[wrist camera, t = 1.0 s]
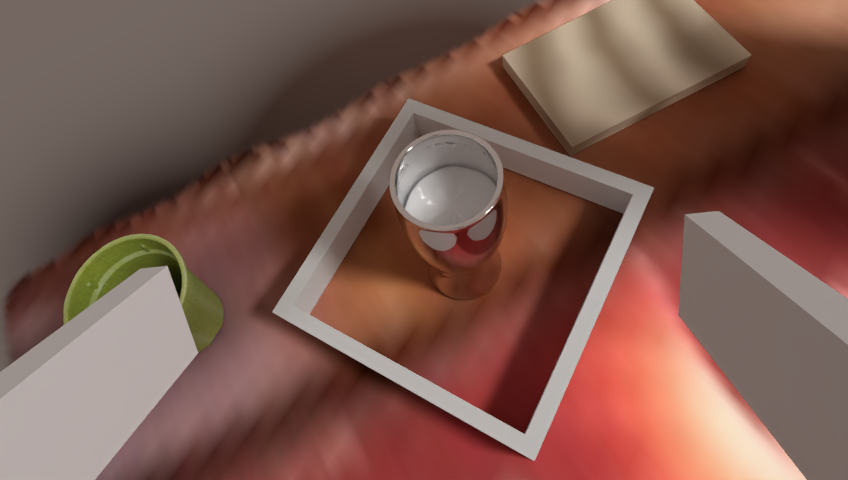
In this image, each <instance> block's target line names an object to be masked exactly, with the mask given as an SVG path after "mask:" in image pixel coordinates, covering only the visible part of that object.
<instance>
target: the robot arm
mask: <svg viewBox="0 0 848 480" xmlns="http://www.w3.org/2000/svg"><path fill="white" fill-rule="evenodd" d="M679 316H680V318H681V319H682V320H683V322H684V323H685V324H686V325H687V327H688V328H689V329H690V330H691V332H692V333H693V334H694V336H695V337H696V338H697V339H698V341H699V342H700V343H701V345H702V346H703V347H704V348H705V350H706V351H707V352H708V353H709V355H710V356H711V357H712V359H713V360H714V361H715V362H716V364H717V365H718V366H719V368H720V369H721V370H722V371H723V373H724V374H725V375H726V377H727V378H728V379H729V380H730V382H731V383H732V384H733V385H734V387H735V388H736V389H737V391H738V392H739V393H740V394H741V396H742V397H743V398H744V400H745V401H746V402H747V403H748V405H749V406H750V407H751V409H752V410H753V411H754V412H755V414H756V415H757V416H758V417H759V419H760V420H761V421H762V423H763V424H764V425H765V426H766V428H767V429H768V430H769V432H770V433H771V434H772V435H773V437H774V438H775V439H776V441H777V442H778V443H779V444H780V446H781V447H782V448H783V449H784V451H785V452H786V453H787V455H788V456H789V457H790V458H791V460H792V461H793V462H794V464H795V465H796V466H797V467H798V469H799V470H800V471H801V473H802V474H803V475H804V476H805V478H806V479H807V480H848V299H847V298H846V297H844V296H843V295H841V294H840V293H838V292H837V291H835V290H834V289H833V288H831V287H830V286H828V285H827V284H825V283H824V282H822V281H821V280H819V279H818V278H816V277H815V276H813V275H812V274H810V273H809V272H808V271H806V270H805V269H803V268H802V267H800V266H799V265H797V264H796V263H794V262H793V261H791V260H790V259H788V258H787V257H786V256H784V255H783V254H781V253H780V252H778V251H777V250H775V249H774V248H772V247H771V246H769V245H768V244H766V243H765V242H764V241H762V240H761V239H759V238H758V237H756V236H755V235H753V234H752V233H750V232H749V231H747V230H746V229H744V228H743V227H742V226H740V225H739V224H737V223H736V222H734V221H733V220H731V219H730V218H728V217H727V216H725V215H724V214H722V213H721V212H720V211H714V212H704V213H694V214H685V219H684V235H683V251H682V267H681V283H680V299H679ZM197 354H198V351H197V348H196V345H195V342H194V340H193V337H192V334H191V331H190V328H189V325H188V323H187V320H186V317H185V314H184V311H183V309H182V306H181V303H180V300H179V297H178V294H177V292H176V289H175V286H174V283H173V280H172V277H171V275H170V272H169V269H168V266H161V267H151V268H141V269H139V270H138V271H137V272H135V273H134V274H132V275H131V276H130V277H128V278H127V279H126V280H124V281H123V282H122V283H120V284H119V285H118V286H116V287H115V288H113V289H112V290H111V291H109V292H108V293H107V294H105V295H104V296H103V297H101V298H100V299H99V300H97V301H96V302H94V303H93V304H92V305H90V306H89V307H88V308H86V309H85V310H84V311H82V312H81V313H80V314H78V315H77V316H76V317H74V318H73V319H71V320H70V321H69V322H67V323H66V324H65V325H63V326H62V327H61V328H59V329H58V330H57V331H55V332H54V333H52V334H51V335H50V336H48V337H47V338H46V339H44V340H43V341H42V342H40V343H39V344H38V345H36V346H35V347H33V348H32V349H31V350H29V351H28V352H27V353H25V354H24V355H23V356H21V357H20V358H19V359H17V360H16V361H15V362H13V363H12V364H10V365H9V366H8V367H6V368H5V369H4V370H2V371H1V372H0V480H95V479H96V478H97V476H98V475H99V474H100V473H101V471H102V470H103V469H104V468H105V467H106V465H107V464H108V463H109V462H110V460H111V459H112V458H113V457H114V456H115V454H116V453H117V452H118V451H119V449H120V448H121V447H122V446H123V445H124V443H125V442H126V441H127V440H128V438H129V437H130V436H131V435H132V433H133V432H134V431H135V430H136V429H137V427H138V426H139V425H140V424H141V422H142V421H143V420H144V419H145V418H146V416H147V415H148V414H149V413H150V411H151V410H152V409H153V408H154V407H155V405H156V404H157V403H158V402H159V400H160V399H161V398H162V397H163V396H164V394H165V393H166V392H167V391H168V389H169V388H170V387H171V386H172V384H173V383H174V382H175V381H176V380H177V378H178V377H179V376H180V375H181V373H182V372H183V371H184V370H185V369H186V367H187V366H188V365H189V364H190V362H191V361H192V360H193V359H194V358H195V356H196V355H197Z"/></svg>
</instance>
